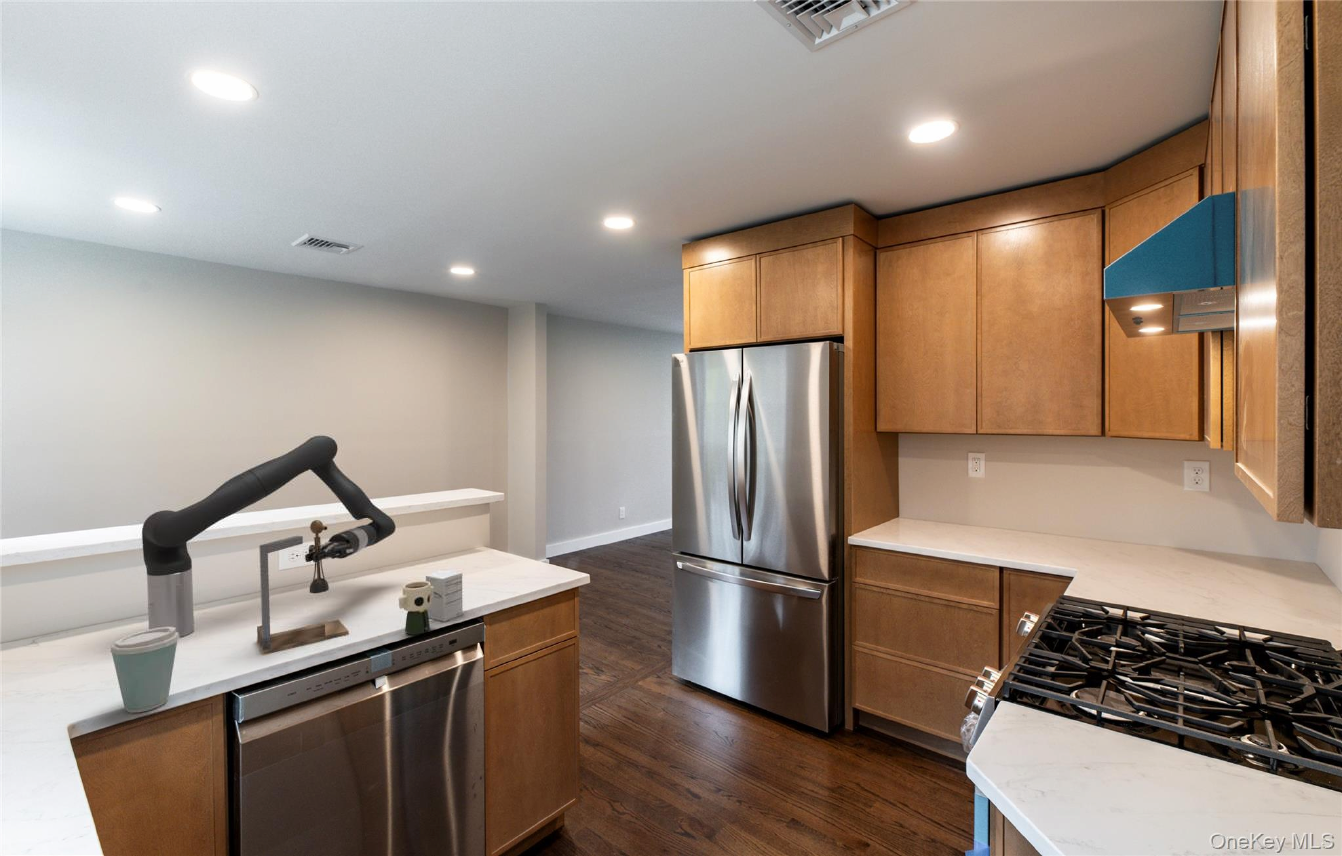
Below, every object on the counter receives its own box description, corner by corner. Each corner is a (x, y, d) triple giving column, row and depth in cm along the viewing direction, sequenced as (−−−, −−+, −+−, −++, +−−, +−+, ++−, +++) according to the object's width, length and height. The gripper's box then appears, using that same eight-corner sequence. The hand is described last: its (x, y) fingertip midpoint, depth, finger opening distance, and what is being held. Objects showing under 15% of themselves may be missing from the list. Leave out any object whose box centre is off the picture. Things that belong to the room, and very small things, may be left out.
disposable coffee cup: (99, 722, 116) (96, 646, 115) (132, 695, 126) (129, 626, 125) (164, 714, 119) (162, 640, 118) (191, 689, 129) (189, 621, 128)
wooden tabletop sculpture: (335, 589, 167) (332, 519, 166) (320, 594, 163) (317, 522, 161) (320, 586, 169) (318, 517, 168) (305, 591, 165) (302, 521, 164)
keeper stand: (263, 654, 147) (260, 546, 145) (257, 640, 155) (254, 538, 154) (348, 634, 159) (346, 535, 158) (338, 622, 167) (336, 528, 166)
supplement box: (425, 618, 171) (424, 575, 171) (445, 610, 178) (445, 568, 177) (443, 622, 168) (442, 578, 167) (463, 614, 174) (463, 572, 174)
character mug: (409, 641, 155) (408, 592, 154) (391, 636, 158) (390, 588, 157) (443, 627, 164) (442, 581, 164) (425, 623, 167) (424, 577, 167)
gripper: (326, 530, 180) (285, 544, 162) (369, 530, 179) (334, 545, 162) (327, 554, 180) (287, 571, 163) (370, 555, 179) (334, 572, 162)
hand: (310, 558), depth 162 cm, fingers closed on wooden tabletop sculpture, 1 cm apart
